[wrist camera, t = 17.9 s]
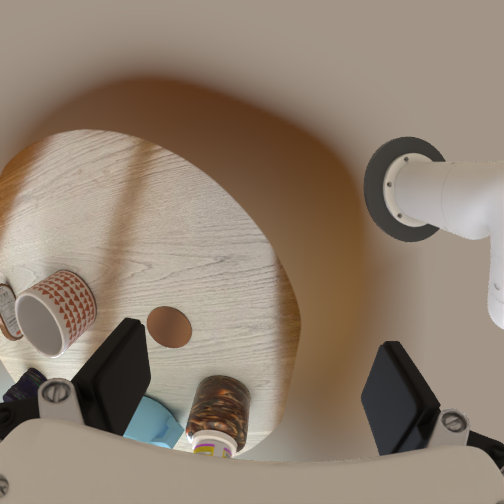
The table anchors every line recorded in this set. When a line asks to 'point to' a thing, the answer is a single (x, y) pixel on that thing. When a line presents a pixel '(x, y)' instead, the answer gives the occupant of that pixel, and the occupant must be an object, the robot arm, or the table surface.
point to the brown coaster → (169, 327)
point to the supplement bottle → (212, 449)
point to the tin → (8, 314)
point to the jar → (220, 413)
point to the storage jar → (25, 386)
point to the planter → (55, 312)
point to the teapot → (153, 425)
